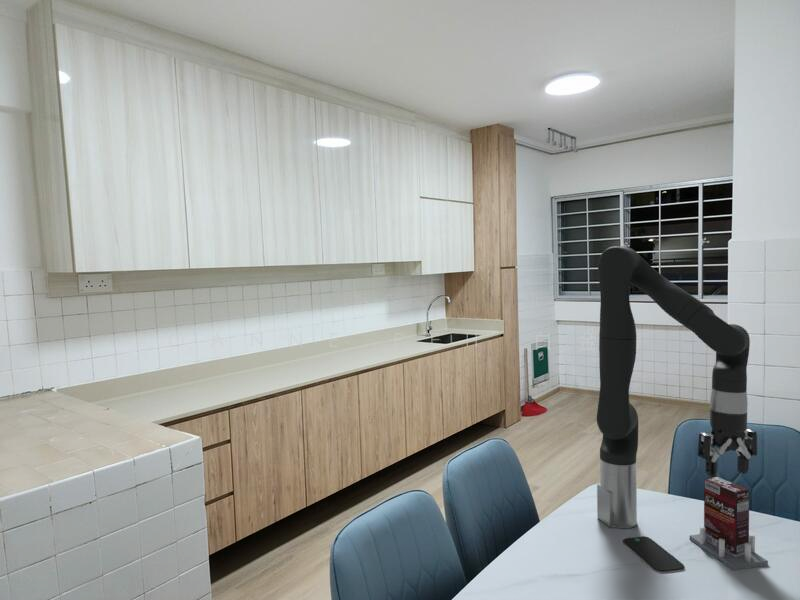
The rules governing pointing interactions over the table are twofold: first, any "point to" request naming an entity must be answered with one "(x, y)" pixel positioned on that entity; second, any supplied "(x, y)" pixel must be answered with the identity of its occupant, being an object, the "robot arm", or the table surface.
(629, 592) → the table surface
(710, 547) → the grey peg holder
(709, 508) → the supplement box
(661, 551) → the smartphone
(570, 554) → the table surface
